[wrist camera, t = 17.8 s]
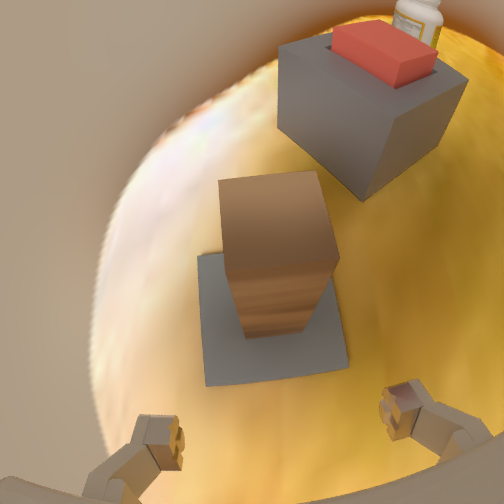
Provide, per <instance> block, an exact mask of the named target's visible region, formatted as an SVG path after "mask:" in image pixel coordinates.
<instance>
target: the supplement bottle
mask: <svg viewBox="0 0 504 504" xmlns="http://www.w3.org/2000/svg"><path fill="white" fill-rule="evenodd" d="M440 3H441V0H399V1H398V2H397V3H396V7H395V12H394V17H393V22H392V26H394V27H396V28H398V29H400V30H402V31H403V32H405V33H407V34H409V35H411V36H413V37H415V38H416V39H418V40H420V41H422V42H423V43H425V44H427V45H428V46H430V47H432V48H433V49H435V48H436V45H437V42H438V38H439V35H440V31H441V28H442V25H443V16H442V14H441V13H440V12H439V11H438V10H437V8H438V6H439V4H440Z"/></svg>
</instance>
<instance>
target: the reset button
mask: <svg viewBox="0 0 504 504" xmlns="http://www.w3.org/2000/svg"><path fill="white" fill-rule="evenodd" d="M331 51H332V52H334V53H336V54H338V55H340V56H341V57H343V58H345V59H347V60H349V61H350V62H352V63H354V64H356V65H357V66H359V67H361V68H362V69H364V70H366V71H367V72H369V73H371V74H372V75H374V76H375V77H377V78H379V79H380V80H382V81H383V82H385V83H386V84H388V85H389V86H391V87H392V88H394V89H395V90H396V89H398V88H400V87H403V86H405V85H408V84H410V83H412V82H415V81H417V80H420V79H422V78H425V77H427V76H430V75H431V73H432V70H433V67H434V64H435V61H436V58H437V55H438V51H437V50H435V49H433V48H432V47H430V46H428V45H427V44H425V43H423V42H422V41H420V40H418V39H416V38H415V37H413V36H411V35H409V34H407V33H405V32H403V31H402V30H400V29H398V28H396V27H394V26H392V25H390V24H388V23H386V22H384V21H382V20H372V21H366V22H359V23H353V24H348V25H342V26H337V27H334V28H333V37H332V45H331Z"/></svg>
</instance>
